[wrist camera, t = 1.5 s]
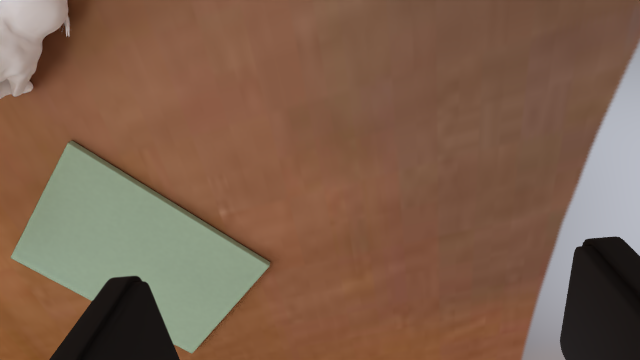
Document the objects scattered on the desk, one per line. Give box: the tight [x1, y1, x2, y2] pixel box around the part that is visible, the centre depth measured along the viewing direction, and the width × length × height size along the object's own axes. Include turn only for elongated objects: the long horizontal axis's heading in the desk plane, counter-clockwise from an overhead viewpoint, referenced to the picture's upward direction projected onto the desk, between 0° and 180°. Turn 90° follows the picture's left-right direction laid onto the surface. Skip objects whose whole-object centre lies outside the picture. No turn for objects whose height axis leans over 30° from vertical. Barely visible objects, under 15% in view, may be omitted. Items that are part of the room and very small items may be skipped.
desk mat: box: [11, 141, 270, 353], centre depth 40 cm, size 20×15×1 cm
